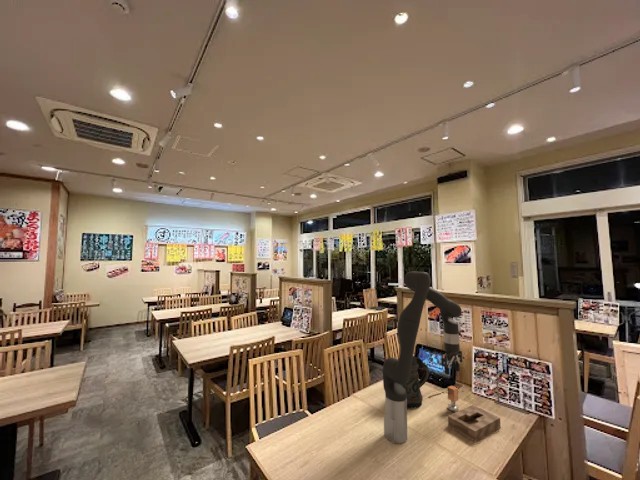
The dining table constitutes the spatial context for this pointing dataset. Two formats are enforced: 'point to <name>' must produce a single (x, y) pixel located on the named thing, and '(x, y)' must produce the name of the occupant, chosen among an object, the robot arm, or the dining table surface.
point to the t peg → (453, 398)
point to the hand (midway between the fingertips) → (452, 372)
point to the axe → (435, 395)
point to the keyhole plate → (474, 422)
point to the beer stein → (415, 383)
